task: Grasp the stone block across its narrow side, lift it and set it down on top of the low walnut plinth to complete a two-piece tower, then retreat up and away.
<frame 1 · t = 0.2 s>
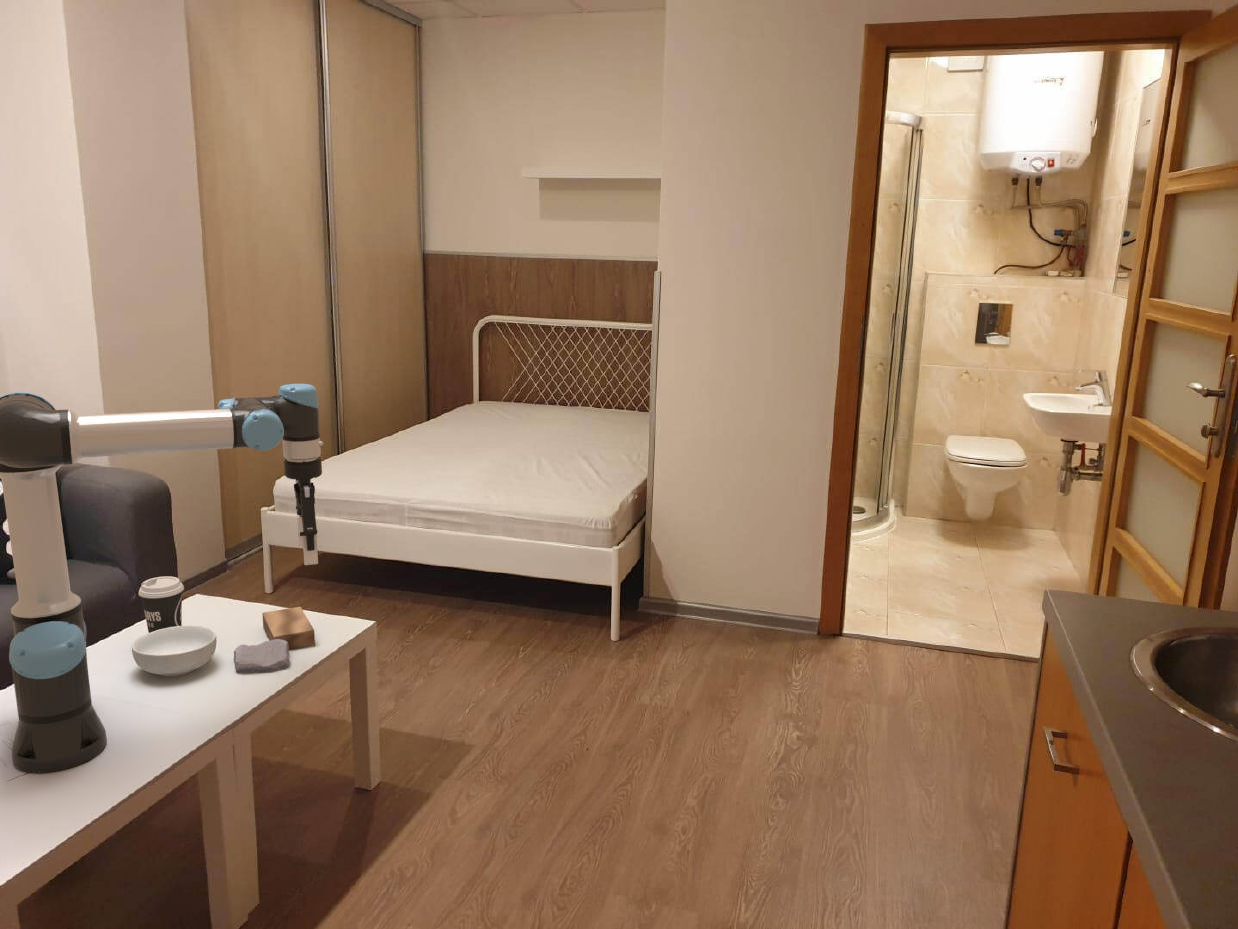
hand: (308, 554, 205), 27 cm above the table, fingers open, 13 cm apart
walnut plinth: (288, 636, 229), on the table
cereal bowl: (177, 669, 211), on the table
stone block: (262, 666, 214), on the table
coffee cup: (166, 643, 224), on the table
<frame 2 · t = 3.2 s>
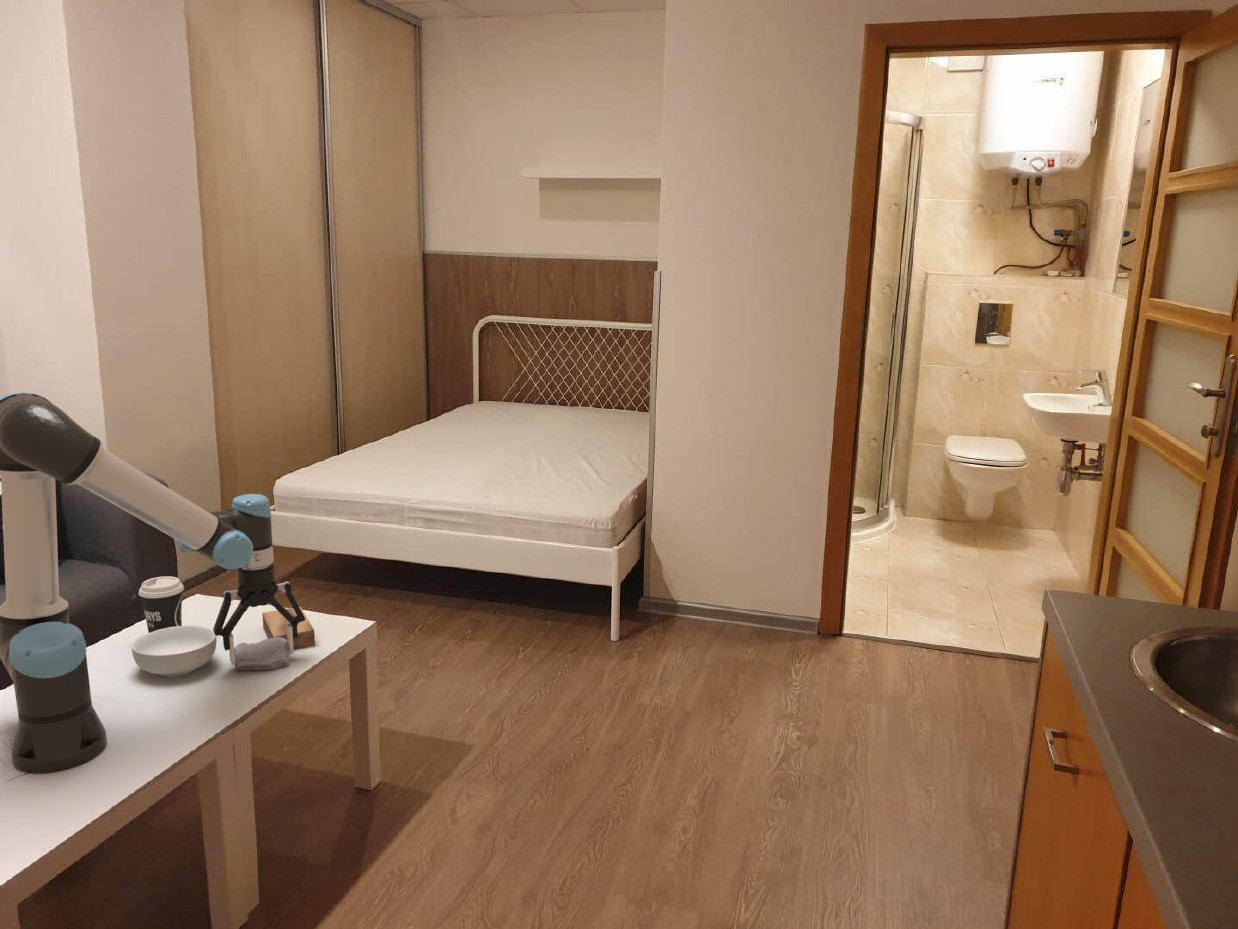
hand: (262, 657, 214), 2 cm above the table, fingers closed on stone block, 12 cm apart
stone block: (262, 664, 215), on the table, touching gripper, walnut plinth
everything else where it was.
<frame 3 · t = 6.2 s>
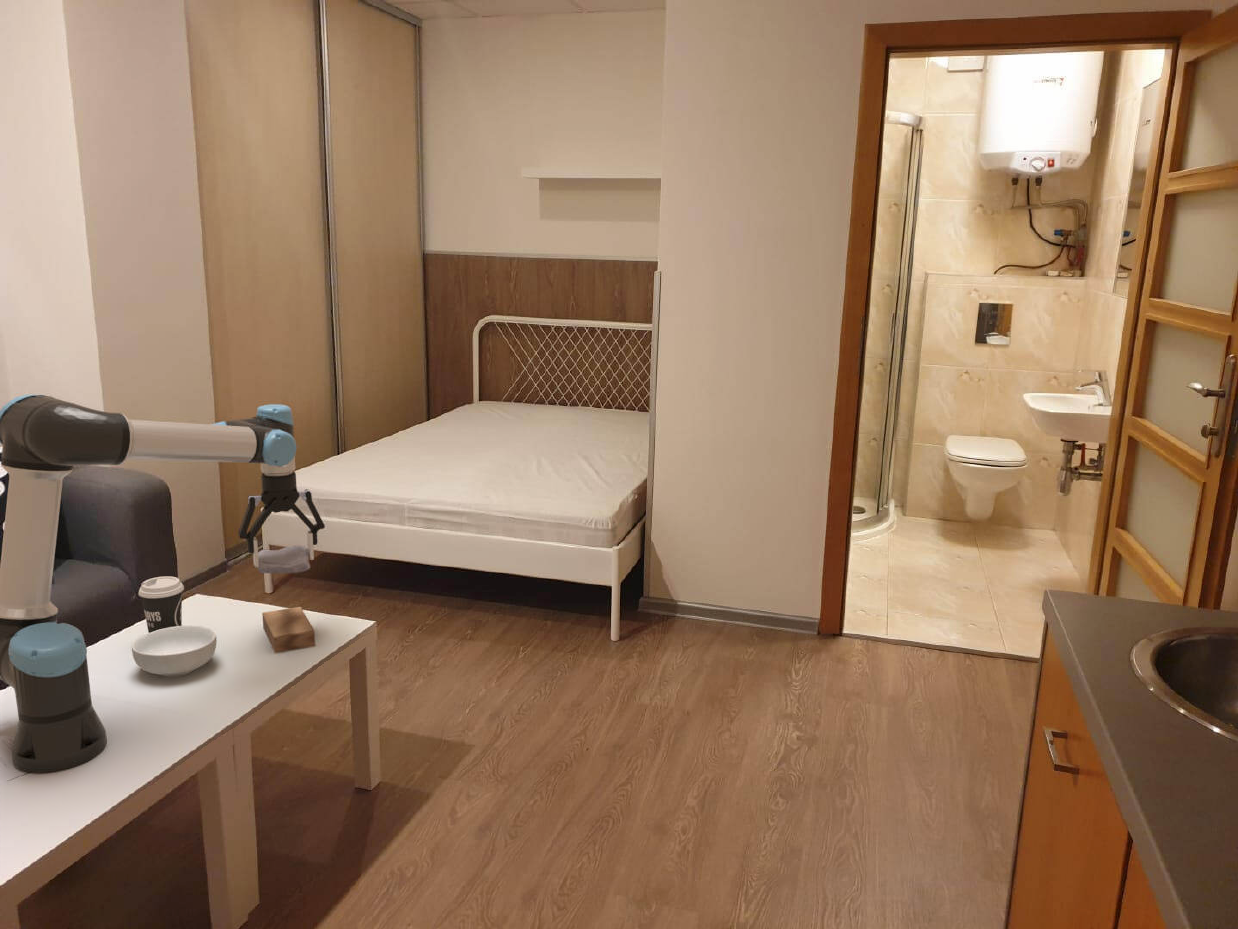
hand: (284, 561, 225), 19 cm above the table, fingers closed on stone block, 12 cm apart
stone block: (283, 569, 226), point 17 cm above the table, touching gripper
everything else where it was.
when the fingers open (7 cm above the table, at t = 9.4 s): stone block drops 1 cm, resting on walnut plinth.
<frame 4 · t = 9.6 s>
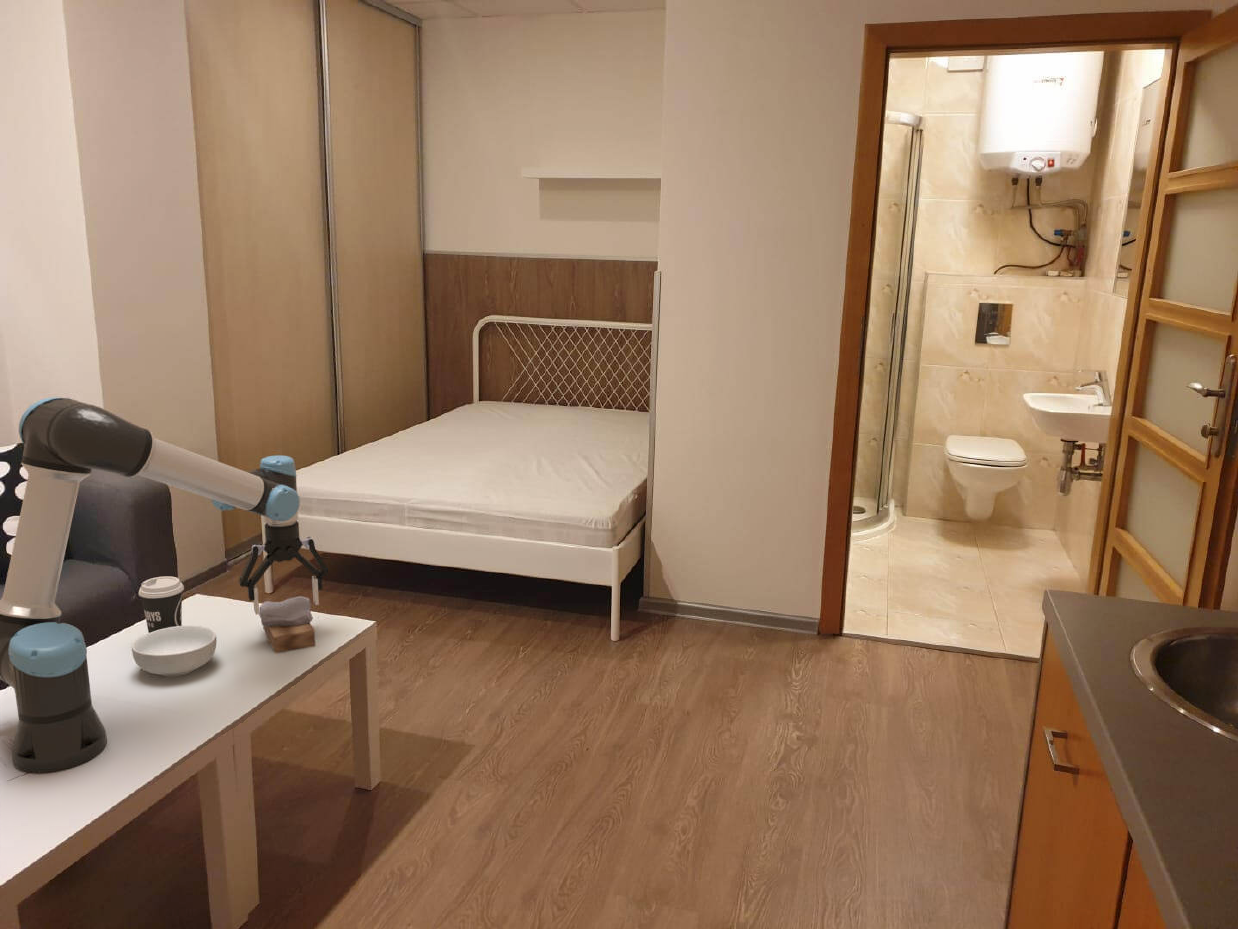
hand: (286, 607, 227), 7 cm above the table, fingers open, 13 cm apart
stone block: (286, 621, 229), point 4 cm above the table, touching walnut plinth
everything else where it was.
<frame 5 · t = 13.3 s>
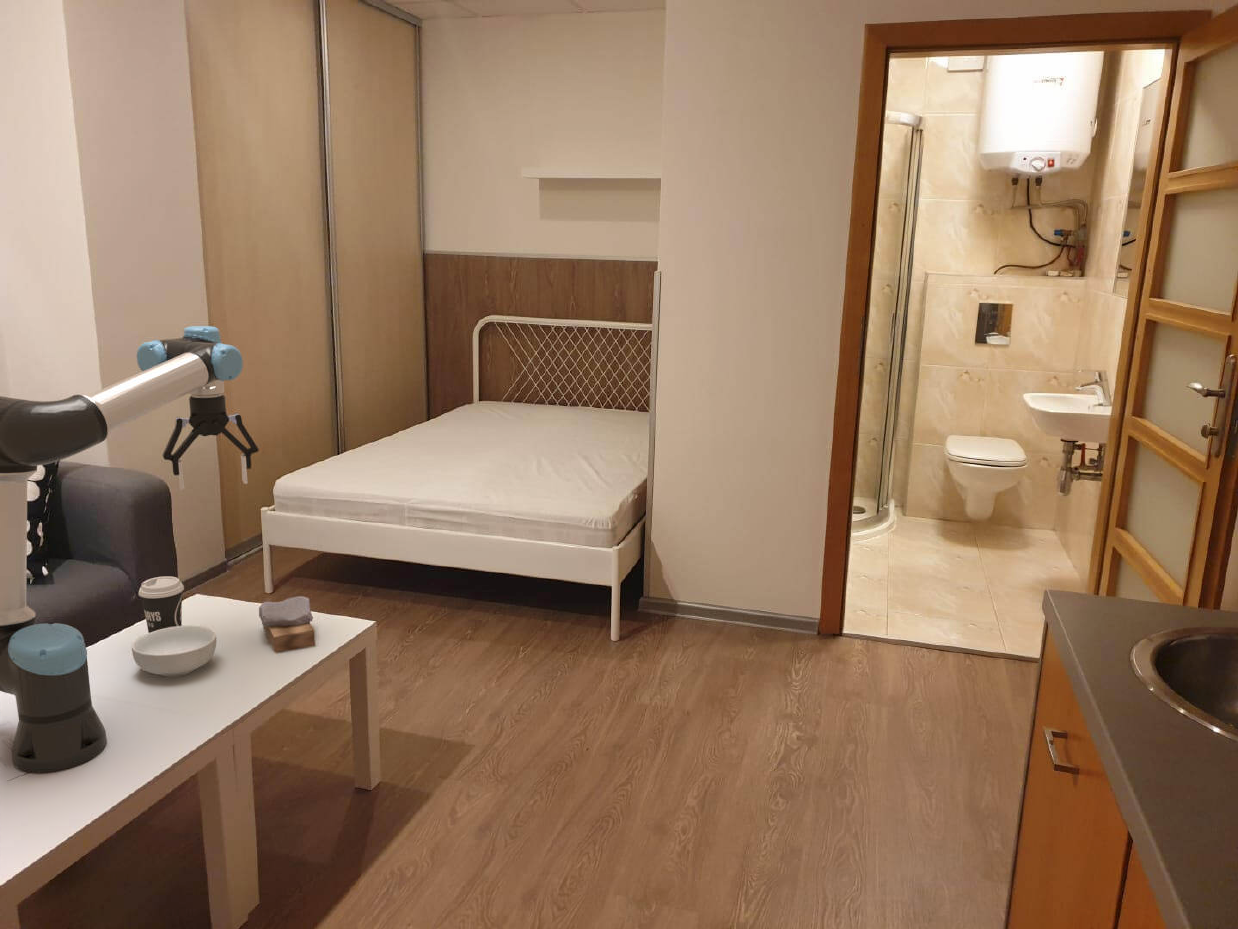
hand: (214, 485, 222), 37 cm above the table, fingers open, 13 cm apart
nothing on the table moved.
at the end: stone block inside the target area on the walnut plinth (0.7 cm from its centre), point 3.8 cm above the walnut plinth's base; stone block touching walnut plinth; the gripper is holding nothing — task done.
